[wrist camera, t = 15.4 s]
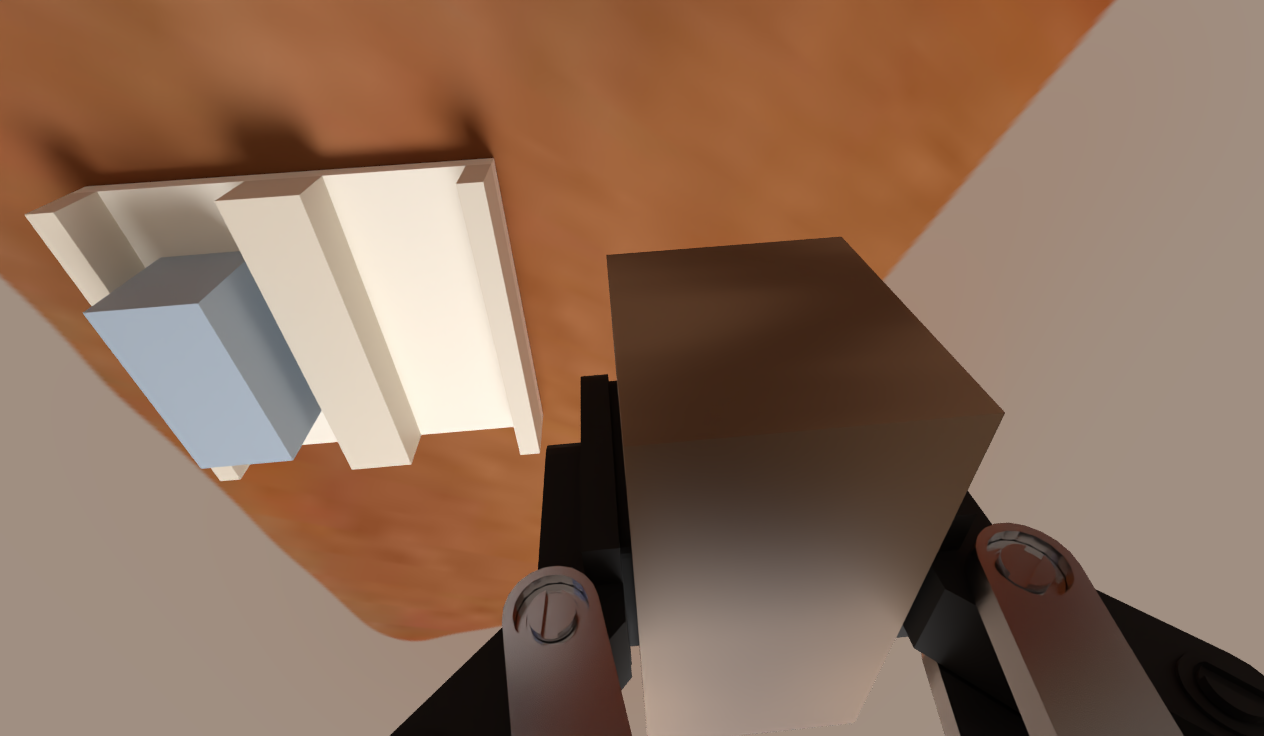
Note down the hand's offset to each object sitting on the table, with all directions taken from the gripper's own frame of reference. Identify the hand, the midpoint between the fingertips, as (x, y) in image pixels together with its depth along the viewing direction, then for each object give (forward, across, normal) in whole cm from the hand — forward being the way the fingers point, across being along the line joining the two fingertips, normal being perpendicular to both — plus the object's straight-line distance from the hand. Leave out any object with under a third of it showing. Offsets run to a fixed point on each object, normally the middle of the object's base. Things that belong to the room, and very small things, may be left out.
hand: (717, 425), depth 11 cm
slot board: (+15, +14, +6) cm, 22 cm away
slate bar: (+14, +18, +5) cm, 24 cm away
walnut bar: (0, 0, 0) cm, 0 cm away
